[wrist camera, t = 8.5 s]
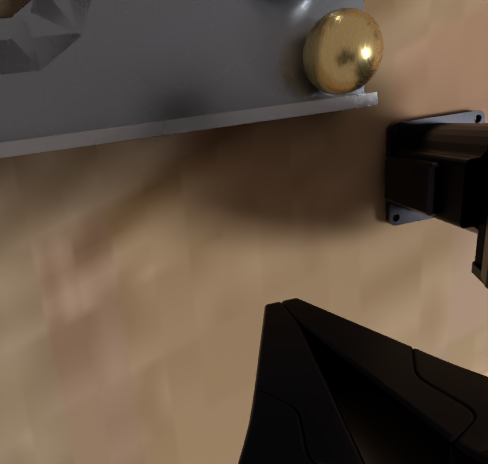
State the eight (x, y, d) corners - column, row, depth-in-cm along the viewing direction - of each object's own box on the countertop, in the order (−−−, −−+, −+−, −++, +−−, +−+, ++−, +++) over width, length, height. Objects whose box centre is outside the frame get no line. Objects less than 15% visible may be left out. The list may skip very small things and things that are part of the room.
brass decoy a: (331, 19, 17) (401, 3, 14) (329, 94, 18) (393, 91, 16) (286, 13, 15) (360, -7, 12) (287, 98, 16) (355, 95, 14)
